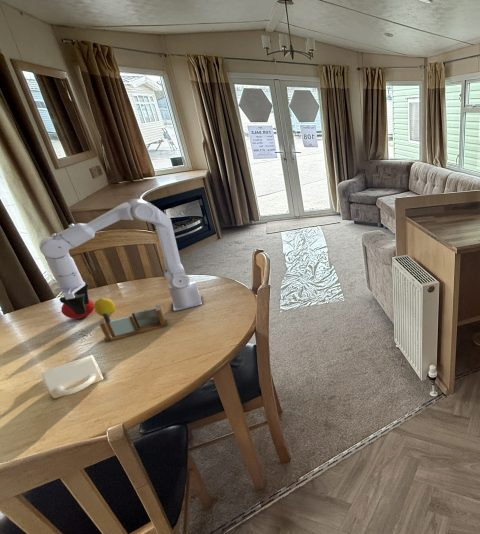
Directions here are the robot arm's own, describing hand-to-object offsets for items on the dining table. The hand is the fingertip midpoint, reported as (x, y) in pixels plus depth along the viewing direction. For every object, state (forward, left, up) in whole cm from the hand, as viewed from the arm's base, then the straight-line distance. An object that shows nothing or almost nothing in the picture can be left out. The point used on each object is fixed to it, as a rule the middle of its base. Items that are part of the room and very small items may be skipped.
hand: (83, 308), depth 116 cm
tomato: (+5, -18, -10) cm, 21 cm away
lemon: (-3, -12, -10) cm, 16 cm away
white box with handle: (0, +33, -10) cm, 35 cm away
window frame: (-12, +6, -10) cm, 17 cm away
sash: (-9, +8, -9) cm, 15 cm away
